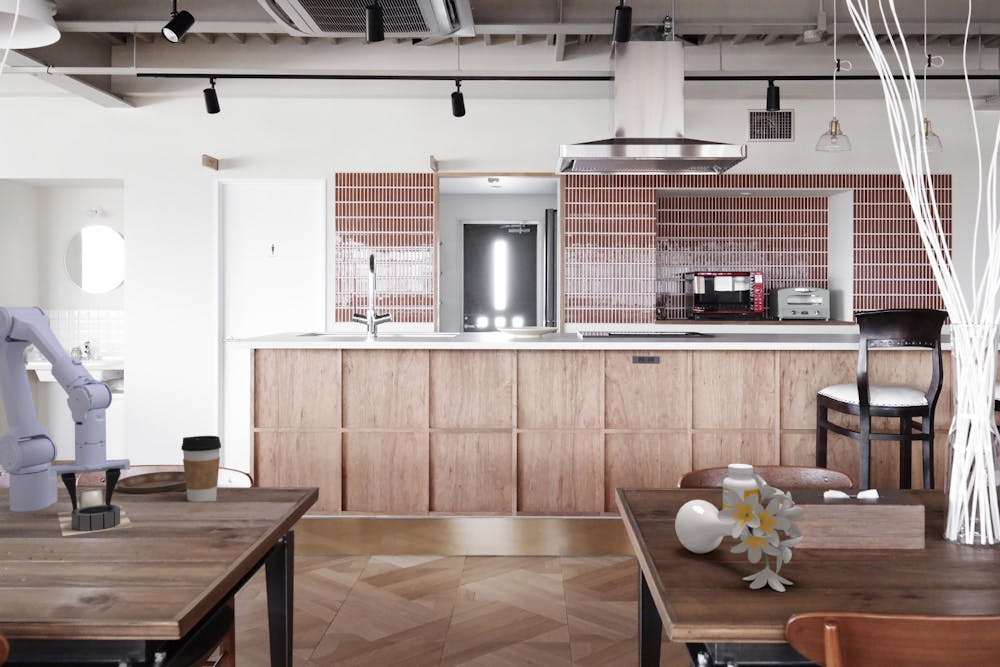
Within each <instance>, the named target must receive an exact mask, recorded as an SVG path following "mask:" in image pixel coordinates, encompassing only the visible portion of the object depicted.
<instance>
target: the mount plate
mask: <svg viewBox="0 0 1000 667" xmlns="http://www.w3.org/2000/svg"><path fill="white" fill-rule="evenodd" d="M118 506H119V507H120V524H119V525H117V526H115V527H112V528H108V529H103V530H96V531H76V530H72V514H71V512H72V511H73V510H71V511H69V510H68V511H62V512H57V519H58V522H59V525H60V530H61V535H62V537H68V536H72V535H74V536H75V535H81V534H82V535H83V534H91V533H96V532H98V533H99V532H105V531H111V530H119V529H121V530H122V529H127V528H133V524H132V522H131V521H130V519H129V517H128V516H127V513H126V512H125V511H124V509H123V506H122V505H118Z"/></svg>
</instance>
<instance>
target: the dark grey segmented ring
mask: <svg viewBox="0 0 1000 667" xmlns="http://www.w3.org/2000/svg"><path fill="white" fill-rule="evenodd" d="M71 511H72V512H71V514H72V530H76V531H96V530H103V529H108V528H112V527H115V526H117V525H119V524H120V507H119V505H116V504H110V505H106V504H103V505H94V506H87V507H82V508H80V507H79V508H78V507H77V509H76V510H71Z"/></svg>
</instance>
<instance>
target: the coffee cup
mask: <svg viewBox="0 0 1000 667" xmlns="http://www.w3.org/2000/svg"><path fill="white" fill-rule="evenodd" d="M181 444H182V445H181V449H180V450H181V451H182V452H183V453H182V454H183V458H182V460H183V461H182V463H183V472H185V481H186V488H187V489H186V497H187V501H189V502H193V503H194V502H195V503H196V502H197V503H198V502H199V503H200V502H209V501H210V502H216V501H217V493H218V492H217V491H218V483H219V482H218V481H219V471H220V470H219V469H220V458H221V457H220V449H221V448H222V443H221V440H220V437H219V436H217V435H199V436H198V435H197V436H188V437H187V436H185V437H182V443H181Z"/></svg>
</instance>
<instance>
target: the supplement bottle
mask: <svg viewBox="0 0 1000 667" xmlns="http://www.w3.org/2000/svg"><path fill="white" fill-rule="evenodd" d="M727 472H728V476H727V477H726V478H724V479H723V482H722V510H723V509H728V508H731V509H734V508H733V507H732V506H731V504H730V502H729V500H728V492H729V491H730V490H734V491H736V492H737V493H738V494H739V496H740V497H741V499H742V501H743V502H744V503H745V499H746V498H747V497H748V496H749V495H751V494H756V495H757V497H758V498H759V488H758V486H757V484H756V481H755V480H754V478H753V476H752V474H751V472H752V473H753V474H754V466H753V465H750V464H746V463H730V464H728V465H727ZM757 503H759V499H758V500H757Z"/></svg>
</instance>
